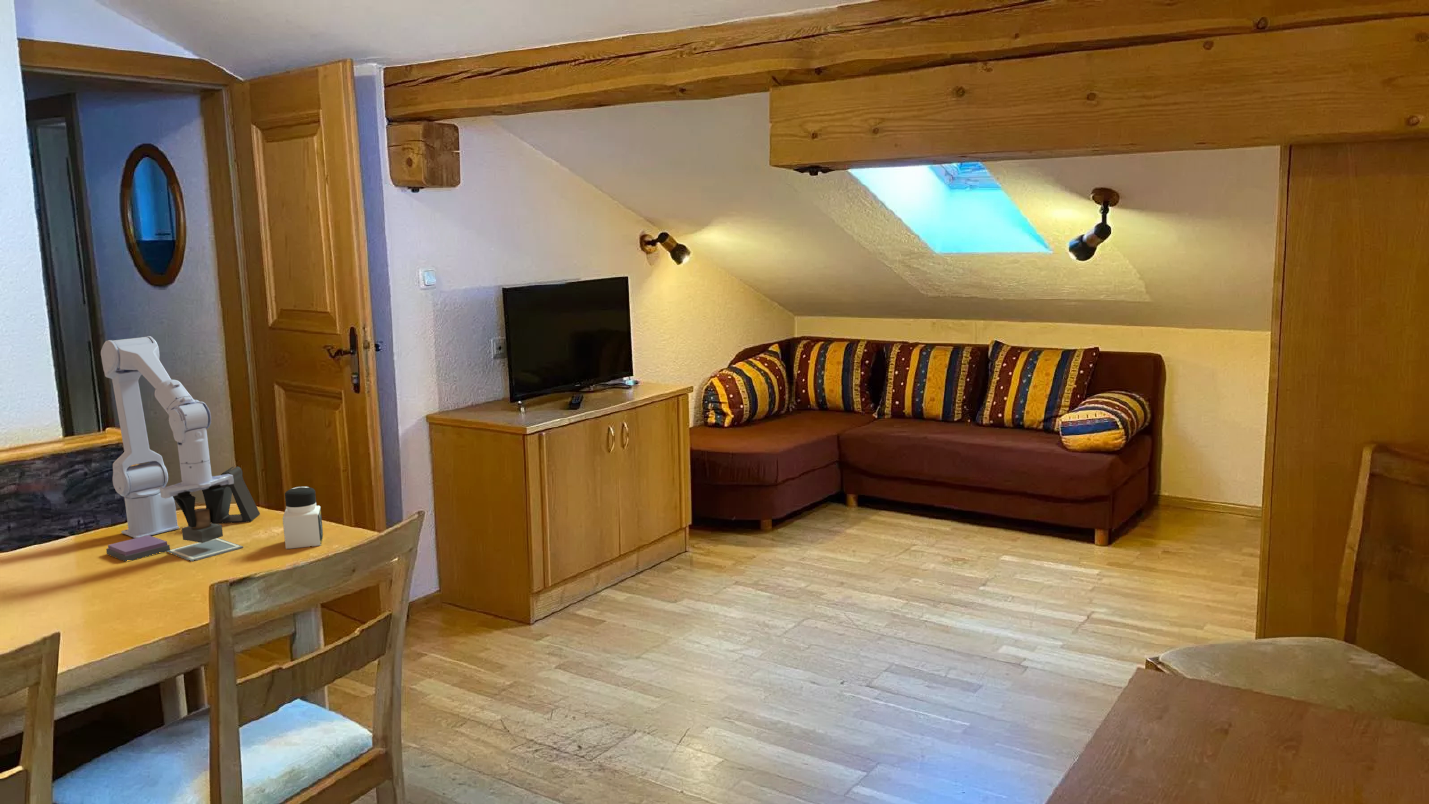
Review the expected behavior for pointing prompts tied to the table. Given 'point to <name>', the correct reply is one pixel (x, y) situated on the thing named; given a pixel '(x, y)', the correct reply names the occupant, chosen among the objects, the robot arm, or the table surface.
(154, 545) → the ink pad
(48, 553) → the table surface
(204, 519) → the stamp
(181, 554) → the board
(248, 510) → the dark grey triangular stand
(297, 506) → the medicine bottle
